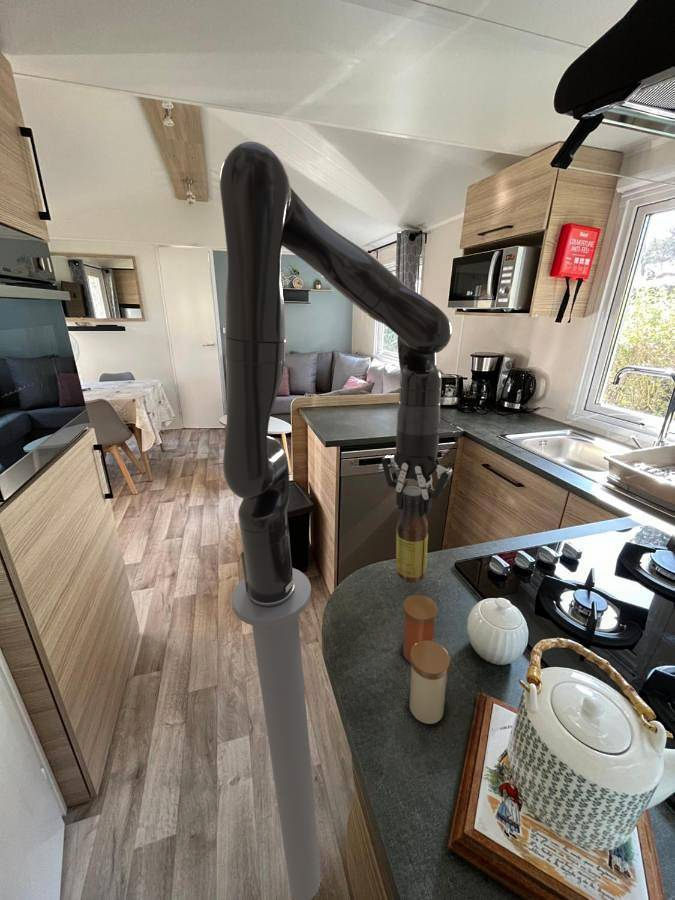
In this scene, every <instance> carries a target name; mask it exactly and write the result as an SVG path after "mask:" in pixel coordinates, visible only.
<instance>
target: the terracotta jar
mask: <svg viewBox="0 0 675 900" xmlns="http://www.w3.org/2000/svg"><path fill="white" fill-rule="evenodd" d="M403 615H404V618H403V619H404V620H403V644H402V654H403V657H404V658H405V660H406V661H407V662H409V663H410V664H411V662H410V653H411V649H412V647H413V646H414V645H415V644H416V643H418V642H421V641H433V642H435V632H436V631H435V629H436V620H437V617H438V605H437V603H436V602H435V601H434V600H433V599H431V598H430V597H428V596H426V595H421V594H413V595H410V596H408V597H407V598H406V599H405V600H404V602H403Z"/></svg>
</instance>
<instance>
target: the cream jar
mask: <svg viewBox="0 0 675 900" xmlns="http://www.w3.org/2000/svg"><path fill="white" fill-rule="evenodd" d="M410 662H411V663H410ZM410 662H409V663H410V665H411V666H410V682H409V683H410V685H409V703H408V705H409V710H410V712H411V714H412V716H413V717H414V718H415V719H416V720H418V722H421V723H423V724H428V725H433V724H436V723H439V721H440V720H442V719H443V716H444V713H445V712H444V711H445V702H446V691H447V683H448V682H447V680H448V673H449V671H450V667H451V658H450V655H449V653H448V650H447V649H446V648H445V647H444V646H443V645H441V644H440V643H438V642H436V641H434V642H433V641H421V642H418V643H416V644H415V645H414V646H413V647H412V649H411V653H410Z"/></svg>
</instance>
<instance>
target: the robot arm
mask: <svg viewBox="0 0 675 900" xmlns="http://www.w3.org/2000/svg"><path fill="white" fill-rule="evenodd" d="M219 193H220V201H221V207H222V217H223V226H224V235H225V244H226V245H225V246H226V258H227V259H226V260H227V272H226V288H225V289H226V291H225V293H226V294H225V319H224V321H225V322H224V323H225V324H224V325H225V326H224V341H225V342H224V343H225V344H224V345H225V368H226V369H225V371H226V428H225V437H224V438H225V439H224V440H225V441H224V450H223V457H222V458H223V461H222V473H223V476H224V481H225V483H226V484H227V487H228V488H229V489H230V491H231V492H232V493H233V494H234V495H236V496H237V497H239V498H240V499H242V501H241V503H240V505H239V508H238V512H237V517H238V524H239V530H240V531H239V532H240V538H241V545H242V552H241V553H240V557H241V565H242V572H243V578H244V579H245V586H246V591H247V592H248V593H249V598H250V600H251V601H252V602H253V603H254V604H255V605H257V606H260V607H274V606H278V605H281V604H283V603H285V602H286V601H287V600H289V599H290V598H291V596H292V595H293V593H294V581H293V571H292V568H293V561H292V551H291V549H292V548H291V538H290V529H289V528H290V527H289V526H290V525H289V518H288V516H289V515H288V508H289V504H290V501H291V500H290V499H291V492H290V489H291V488H290V468H289V467H290V466H289V459H288V456H287V453H286V451H285V449H284V447H283V446H282V444H281V443H280V442H279V441H278V440H276V439H275V438H274V437H271V436H269V425H270V420H271V415H272V412H273V408H274V405H275V402H276V400H277V396H278V393H279V390H280V387H281V383H282V379H283V375H284V370H285V361H286V360H285V356H286V316H285V304H284V295H283V286H282V274H281V262H282V261H281V259H282V248H284V249H286V250H288V251H290V252H291V253H292V254H293V255H295V256H297V257H298V258H299V259H301V260H302V261H303V262H304V263H306V264H307V265H308V266H310V267H311V268H312V269H313V270H314V271H316V272H317V273H318V274H319V275H320V276H321V277H322V278H323V279H325V281H326V282H328V283H329V284H330V285H331V286H332V287H333V288H334V289H336V290H337V291H338V292H339V293H340V294H341V295H342V296H344V298H346V299H347V300H348V301H349V302H351V303H352V304H353V305H354V306H356V307H357V308H358V309H360V311H362V312H363V313H364V314H366V315H367V316H369V318H371V319H373V320H375V321H377V322H378V323H381V324H383V325H384V326H385V327H387V328H388V329H389V330H390V331H392V332H393V333H394V334H395V335H397V337H396V338H397V340H396V341H397V353H398V365H399V373H400V381H399V393H398V394H399V397H398V399H399V400H398V407H397V408H398V409H397V415H396V438H395V450H396V452H395V454H394V455H391V454H387V455H386V456H384V457H382V458H381V459H380V461H381V465H382V469H383V473H384V476H385V479H386V483H387V487H389V488H394V489H395V491H396V500H395V502H396V503H395V504H396V506H397V507H398V509H399V510H403V497H402V491H403V489H404V488H405V487H408V484H409V481H410V480H414V481H416V482H417V483H418V487H419V488H421V492H422V497H423V498H422V499H421V509H420V515H421V516H426V515H428V514H429V513H430V512H431V510H432V501H433V500H438V499H439V497H440V496H441V495H443V494H444V491H445V489H446V487H447V485H448V483H449V482H450V479H451V477H452V475H453V473H454V470H453V469H452V467H447V468H446V467H444V466H442V465H441V464H440V461H439V459H438V454H439V453H438V452H439V441H440V429H441V425H442V424H441V423H442V422H441V395H442V381H443V380H442V373H441V372H440V370H439V368H438V367H437V366H438V365H437V353H439V352H441V351H443V350H444V349H445V348H446V347H447V346H448V344H449V343H450V341H451V338H452V333H453V330H452V329H453V328H452V325H451V322H450V319H449V317H448V315H446V313H445V312H444V311H443V310H442V309H441V308H440V307H439V306H438V305H436V304H434V303H433V302H432V301H430V300H429V299H427V298H426V297H424V296H423V295H421V294H420V293H418V292H417V291H415V290H413V289H412V288H410V287H408V285H406V284H405V283H403V282H402V280H401V279H399V278H398V276H397V275H395V274H394V273H393V272H392V271H391V270H389V269H388V268H387V267H386V266H385V265H384V264H383V263H381V262H380V261H379V260H378V259H377V258H375V257H374V256H373V255H371V254H370V253H369V252H368V251H367V250H365V249H363V248H362V247H361V246H359V245H358V244H356V243H354V242H353V241H351V239H348V238H347V237H346V236H344V235H342V234H341V233H340V232H338V231H336V229H334V228H333V227H331V226H330V225H328V224H327V223H326V222H324V221H323V220H322V219H321V218H320V217H319V216H318V215H317V214H316V213H314V211H312V210H311V209H310V207H309V206H307V204H306V203H305V202H304V201H303V200H302V199H301V197H300V196H299V195H298V194H297V193H296V191H295V190H294V189H293V188H292V187H291V182H290V177H289V175H288V172H287V170H286V167H285V166H284V164H283V163H282V160H281V159H280V158H279V157H278V156H277V155H276V153H275V152H274V151H273V150H271V149H270V148H269V147H268V146H267V145H265V144H263V143H261V142H257V141H244V142H242V143H239V144H237V145H236V146H235V147H233V149H231V150H230V151H229V153H228V154H227V156H226V157H225V159H224V161H223V164H222V166H221V170H220V175H219ZM396 466H397V467H398V469H399V471H400V472H399V475H398V472H397V467H396ZM435 471H436V472H437V473H436V477H437V479H438V481H437V483H436V485H435V487H434V488H433V476H432V475H433V474H434V472H435Z"/></svg>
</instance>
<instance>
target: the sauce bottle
mask: <svg viewBox="0 0 675 900" xmlns="http://www.w3.org/2000/svg"><path fill="white" fill-rule="evenodd" d="M402 497H403V509H401V513H400V516H399V517H398V520H397V522H396V526H395V528H396V529H395V531H396V532H395V568H396V573H397V576H398V577H399V578H400V580H403V581H404V582H407V583H413V584H414V583H418V582H421V581H423V580H424V579H425V576H426V573H427V572H426V571H427V567H428V565H427V564H428V544H429V543H428V541H429V531H428V529H429V521H428V519H427V516H426V515H425V516H421V515H420V509H421V499H422V498H423V497H422V492H421V488H419V486H414V485H412V486H410V485H409V486H407V487H405V488H404V489H403V491H402Z"/></svg>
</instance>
